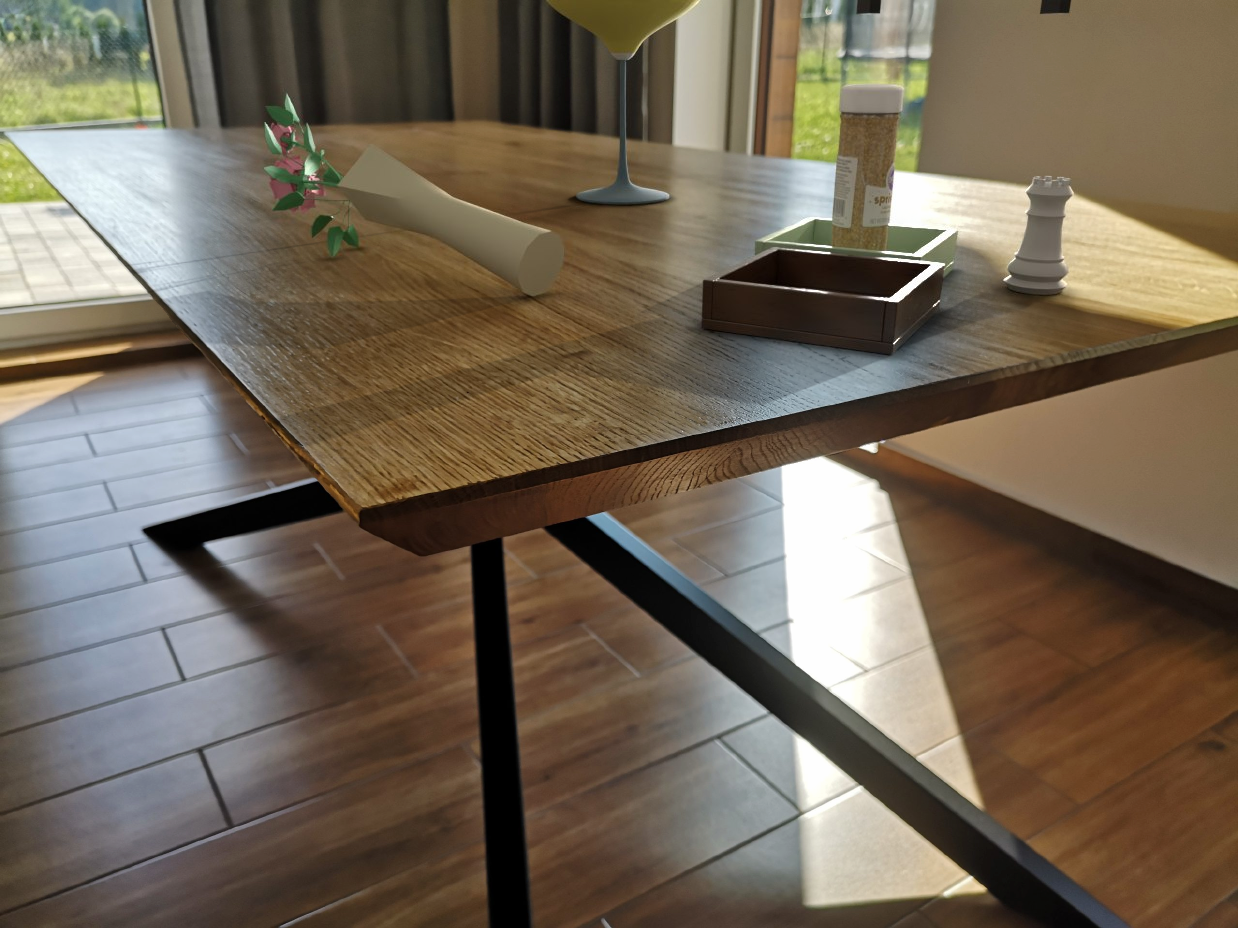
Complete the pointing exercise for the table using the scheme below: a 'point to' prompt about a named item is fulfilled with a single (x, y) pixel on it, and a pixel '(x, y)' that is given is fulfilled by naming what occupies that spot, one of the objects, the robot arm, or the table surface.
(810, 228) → the green bin
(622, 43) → the cocktail glass
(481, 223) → the flower vase
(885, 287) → the walnut bin
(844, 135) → the sprinkles bottle
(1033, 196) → the rook chess piece
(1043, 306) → the table surface
